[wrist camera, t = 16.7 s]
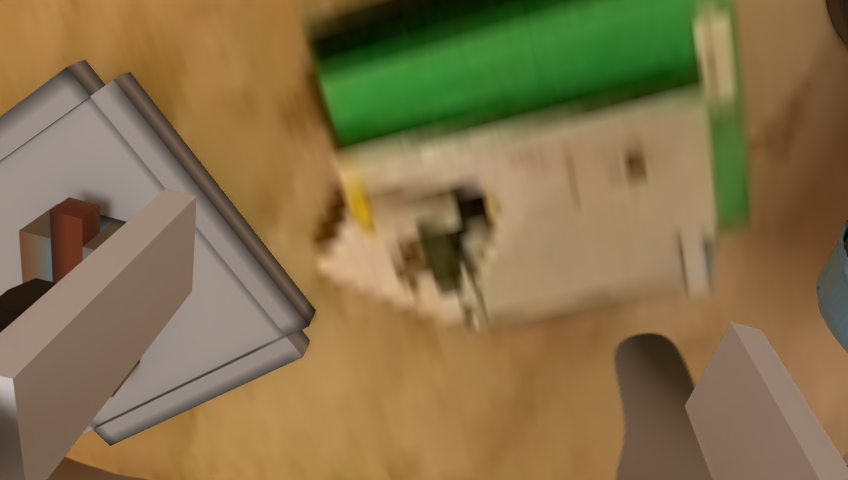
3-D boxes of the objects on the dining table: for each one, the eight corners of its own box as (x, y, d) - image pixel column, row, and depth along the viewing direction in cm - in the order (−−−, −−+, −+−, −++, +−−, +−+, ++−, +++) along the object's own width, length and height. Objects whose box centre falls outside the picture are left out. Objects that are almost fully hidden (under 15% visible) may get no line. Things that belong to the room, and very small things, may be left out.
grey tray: (-117, 211, 59) (-194, 250, 52) (112, 41, 50) (53, 63, 43) (109, 431, 70) (68, 487, 63) (332, 326, 60) (312, 378, 54)
